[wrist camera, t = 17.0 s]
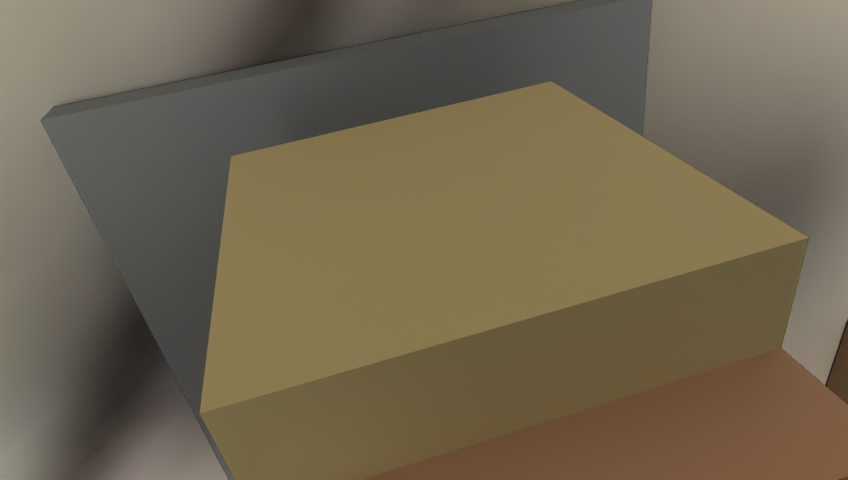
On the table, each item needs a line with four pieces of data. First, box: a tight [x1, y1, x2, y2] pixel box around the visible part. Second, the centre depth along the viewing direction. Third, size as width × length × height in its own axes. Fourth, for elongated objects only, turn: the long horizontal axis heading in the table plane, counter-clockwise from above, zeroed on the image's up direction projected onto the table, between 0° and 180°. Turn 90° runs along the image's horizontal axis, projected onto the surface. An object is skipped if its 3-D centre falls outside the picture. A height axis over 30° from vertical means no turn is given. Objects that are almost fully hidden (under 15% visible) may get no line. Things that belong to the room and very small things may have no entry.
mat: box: [41, 0, 652, 480], centre depth 11 cm, size 9×9×1 cm
